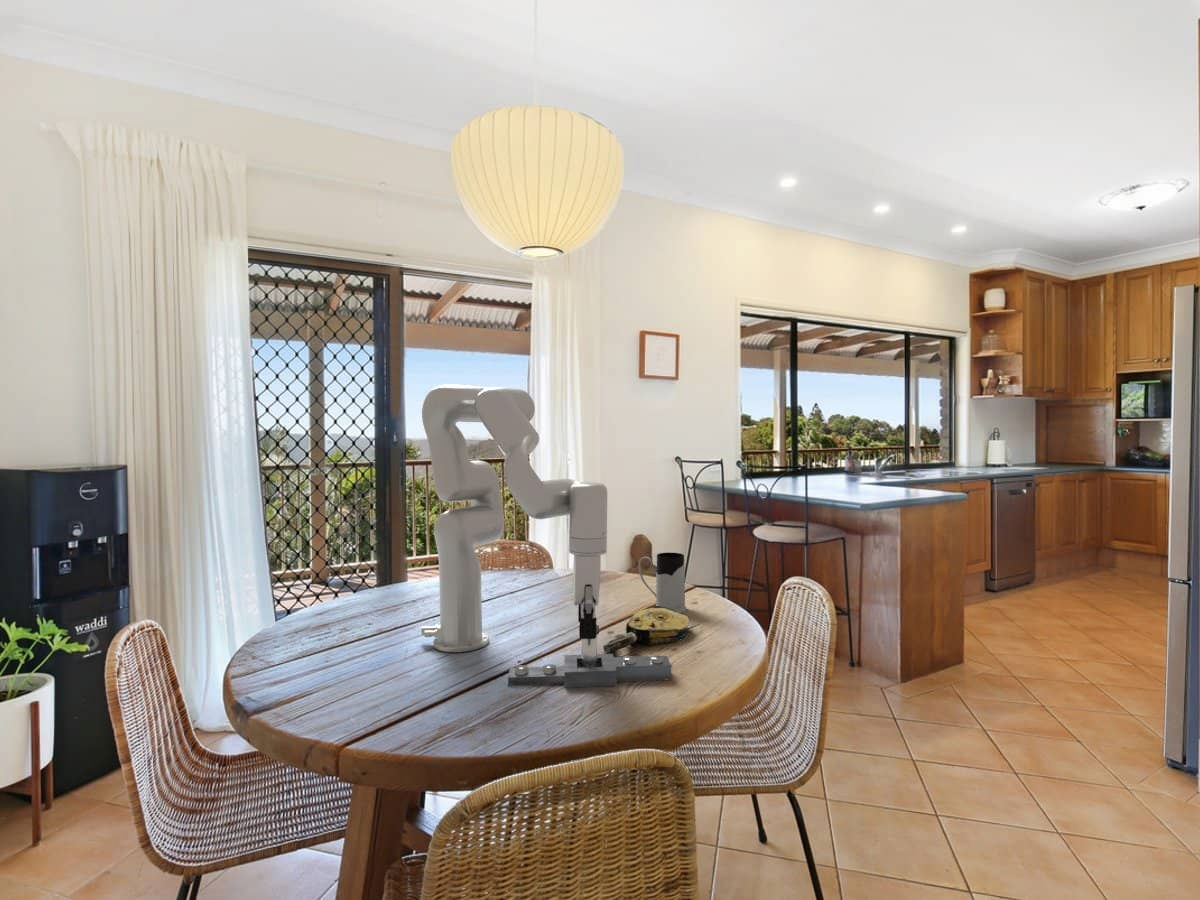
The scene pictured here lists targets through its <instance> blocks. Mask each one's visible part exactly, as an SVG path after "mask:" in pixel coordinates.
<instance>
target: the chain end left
mask: <svg viewBox="0 0 1200 900" xmlns="http://www.w3.org/2000/svg"><path fill="white" fill-rule="evenodd" d="M597 667H602V666H601V665H597ZM577 668H582V666H577ZM556 684H564V689H565V688H566V689H567V688H592V687H593V688H594V687H595V688H596V687H617V682H616V678H612V679H580V680H565V679H564V665H559V666H558V665H557V666H556V665H555V664H549V663H548V664H544V665H543V666H528V665H525V664H523V665H522V664H521V665H516V666H515V667H510V668H509V671H508V675H507V686H523V685H530V686H531V685H556Z"/></svg>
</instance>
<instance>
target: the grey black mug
mask: <svg viewBox="0 0 1200 900" xmlns="http://www.w3.org/2000/svg"><path fill="white" fill-rule="evenodd" d="M643 559H647V560H649V562H650V565H651V572H652V573H653V574H655V575H656V576H655V579H656V580H655V581H656V582H655V584H656V587H655V589H656V592H655V591H654V590H653V588H651V587H650V586H649V585H648V583H647V582H646V581H645V579H644V577H643V573H642V570H641V569H642V568H641V562H642V560H643ZM685 568H686V565H685V555H684V554H682V553H678V552H659V553H657V554H656V571H655V570H654V562H653V560H652V559H651V558H650V557H649V556H643V557H641V558H640V559H639V561H638V572H639V576H640V579H641V581H642V583H643V584H644V586H646V588H647V589H648V590H649V591H650V592H651V593H652V594H653V595H654V597H655V599H656V602H655V603H656V604H655V606H662V607H666V608H669V609H672V610H675V611H677V613H679V614H682V612H683V613H686V612H687V606H686V595H685V594H686V584H685V583H686V580H685V579H686V577H685V576H686V572H685V571H686V569H685Z"/></svg>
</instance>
